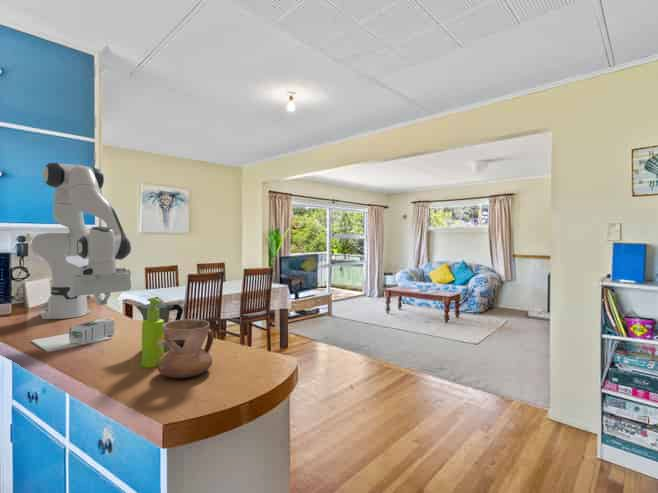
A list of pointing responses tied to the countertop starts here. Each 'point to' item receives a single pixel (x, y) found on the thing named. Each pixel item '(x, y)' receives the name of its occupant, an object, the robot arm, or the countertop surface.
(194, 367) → the ceramic jug
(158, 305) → the coffeepot
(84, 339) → the syrup box
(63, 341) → the grey mat
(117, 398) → the countertop surface
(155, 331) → the soap dispenser
